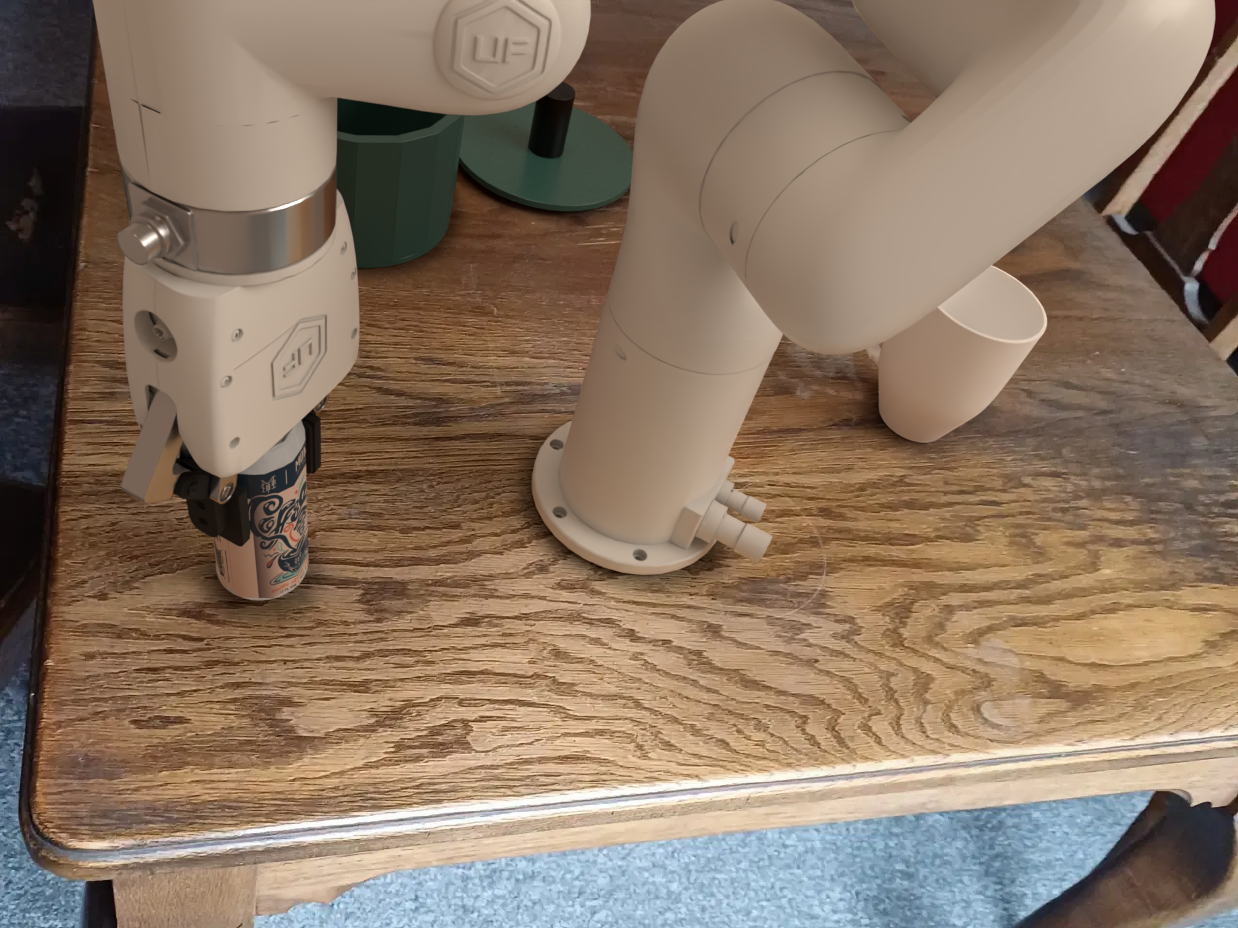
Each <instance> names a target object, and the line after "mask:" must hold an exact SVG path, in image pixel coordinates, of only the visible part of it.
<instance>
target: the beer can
mask: <svg viewBox="0 0 1238 928" xmlns="http://www.w3.org/2000/svg"><path fill="white" fill-rule="evenodd" d="M237 483H238V484H240V485H242V486H243V487H244V488H245V489H246V491H247V498H248V510H249V521H250V532H251V534H250V539H249V540H248V541H247V542H246V543H245V544H244V545H243V546H242V547H240V546H237V545H235V544H233V543H232V542H230V541H228V540H226V539H224V538H223V537H221V536H219V535H218V536H217V537H215V538H214V537H212V541H213V542H212V543H213V550H214V557H215V572H216V575H217V578H218V580H219V582H220V584H221V585H222V587H224V588H225V589H226V590H227V591H228V592H229V593H231V594H232V595H235V596H237V597H239V598H242V599H245V600H251V601H256V602H257V601H270V600H274V599H277V598H280V597H283V596H285V595H286V594H288V593H290V592H292V591H294V590H295V589H296V588H297V587H298V586H300V584H301V583H302V581H303V579H304V578H305V577H306V574H307V572H308V569H309V564H310V563H309V562H310V561H309V560H310V559H309V525H308V524H309V523H308V522H309V521H308V489H307V488H308V487H307V485H308V484H307V483H308V482H307V474H306V443H305V429H304V426H303V424H302V421H299V422H298V423H297V424H296V425H295V426H294V427H293V428H292V429H291V430H290V431H289V432H288V433H287V434H286V435H285V436H283V437H282V438H281V439H280V440H279V441H278V442H277V443H276V444H275V445H274V446H273V447H272V448H271V449H270V450H268V451H267V452H266V453H265V454H264V455H263V456H262V457H261V458H260V459H258V460H257V461H256V462H255V463H254V464H252V465H251V466H250V467H248V468H247V469H245V470H243V471H242V472H240V473H238V477H237Z"/></svg>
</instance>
